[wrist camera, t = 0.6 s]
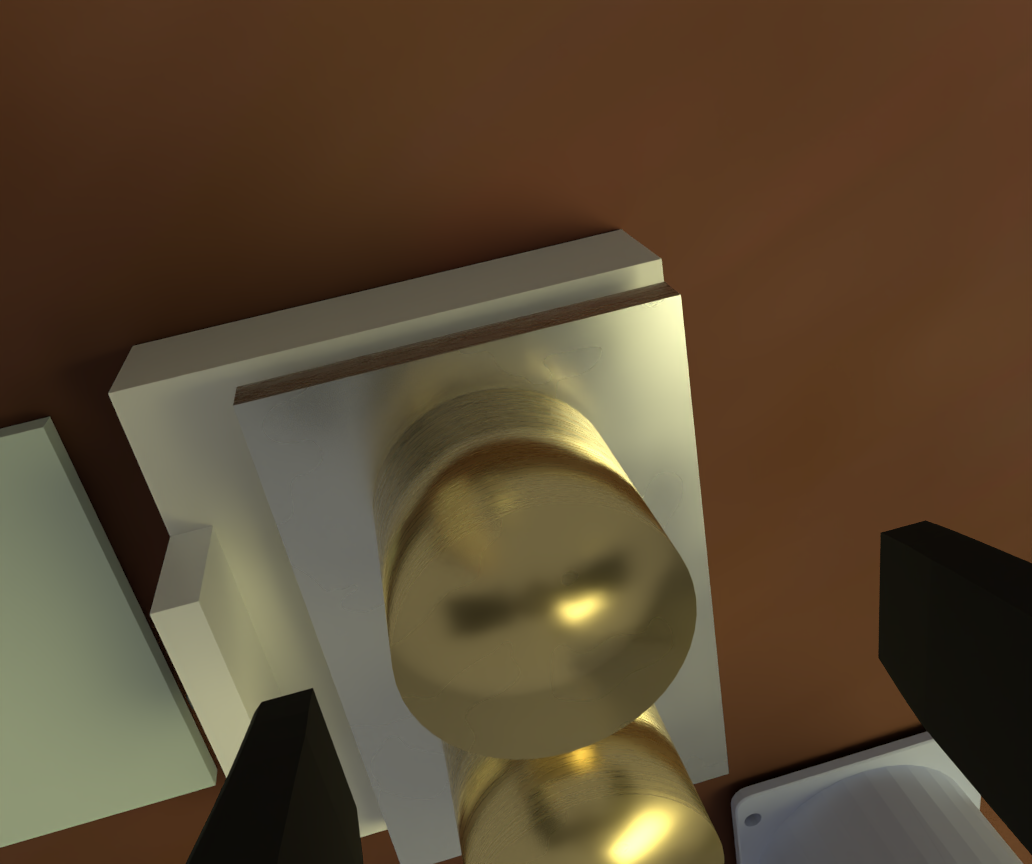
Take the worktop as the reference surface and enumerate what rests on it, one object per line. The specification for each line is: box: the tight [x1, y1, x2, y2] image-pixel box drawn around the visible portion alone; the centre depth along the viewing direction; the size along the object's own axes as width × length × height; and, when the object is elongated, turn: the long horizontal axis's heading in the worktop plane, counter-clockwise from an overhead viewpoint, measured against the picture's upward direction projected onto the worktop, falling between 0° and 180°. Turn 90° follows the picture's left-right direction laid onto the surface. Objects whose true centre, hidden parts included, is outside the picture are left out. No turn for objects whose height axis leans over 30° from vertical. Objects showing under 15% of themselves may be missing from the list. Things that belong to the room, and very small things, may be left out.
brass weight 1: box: [373, 388, 697, 760], centre depth 14 cm, size 4×4×4 cm
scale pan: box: [233, 282, 729, 864], centre depth 18 cm, size 12×8×1 cm, turn 11°
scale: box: [108, 229, 664, 837], centre depth 19 cm, size 12×10×5 cm
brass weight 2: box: [443, 704, 724, 864], centre depth 17 cm, size 4×4×4 cm
